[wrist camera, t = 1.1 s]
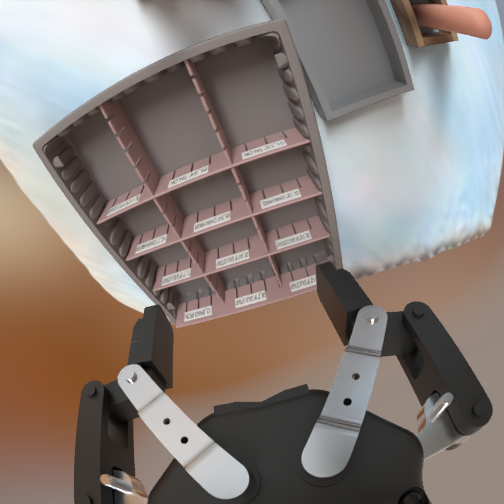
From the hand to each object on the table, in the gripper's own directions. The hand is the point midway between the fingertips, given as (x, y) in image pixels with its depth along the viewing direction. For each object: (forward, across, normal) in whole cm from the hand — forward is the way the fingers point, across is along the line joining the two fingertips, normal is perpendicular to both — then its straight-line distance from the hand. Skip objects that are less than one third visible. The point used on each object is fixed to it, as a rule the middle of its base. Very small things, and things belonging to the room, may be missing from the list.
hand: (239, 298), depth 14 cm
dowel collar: (+22, -33, -20) cm, 45 cm away
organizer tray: (+30, +2, +4) cm, 31 cm away
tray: (+24, -19, -16) cm, 35 cm away
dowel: (+22, -33, -20) cm, 45 cm away
